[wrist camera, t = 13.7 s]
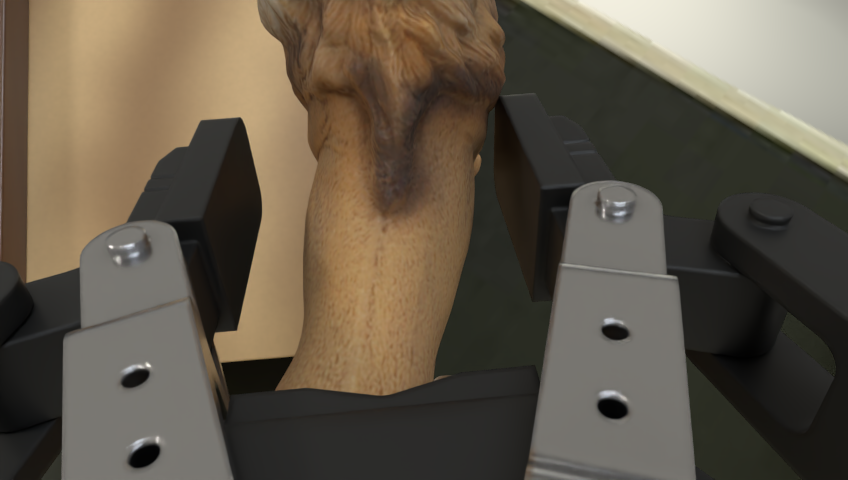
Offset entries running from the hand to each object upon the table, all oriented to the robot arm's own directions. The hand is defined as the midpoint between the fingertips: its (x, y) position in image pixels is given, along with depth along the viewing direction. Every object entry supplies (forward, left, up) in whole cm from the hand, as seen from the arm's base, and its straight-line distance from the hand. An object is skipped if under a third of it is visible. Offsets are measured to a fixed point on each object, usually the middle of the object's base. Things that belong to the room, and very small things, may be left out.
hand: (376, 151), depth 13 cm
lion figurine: (0, +2, -4) cm, 5 cm away
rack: (+8, -5, -23) cm, 25 cm away
